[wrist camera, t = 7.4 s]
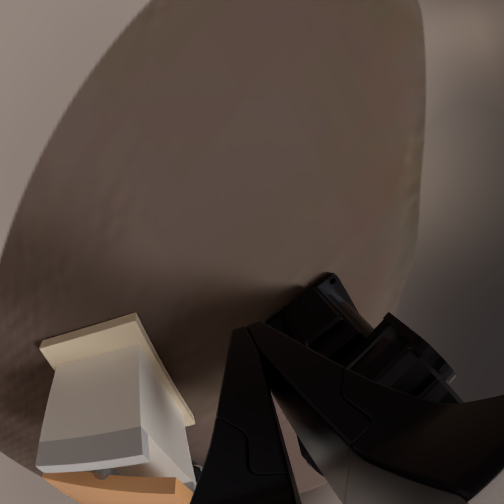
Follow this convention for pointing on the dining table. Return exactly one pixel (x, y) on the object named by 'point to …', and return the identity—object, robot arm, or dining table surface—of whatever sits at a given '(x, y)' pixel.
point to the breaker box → (113, 406)
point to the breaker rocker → (119, 488)
